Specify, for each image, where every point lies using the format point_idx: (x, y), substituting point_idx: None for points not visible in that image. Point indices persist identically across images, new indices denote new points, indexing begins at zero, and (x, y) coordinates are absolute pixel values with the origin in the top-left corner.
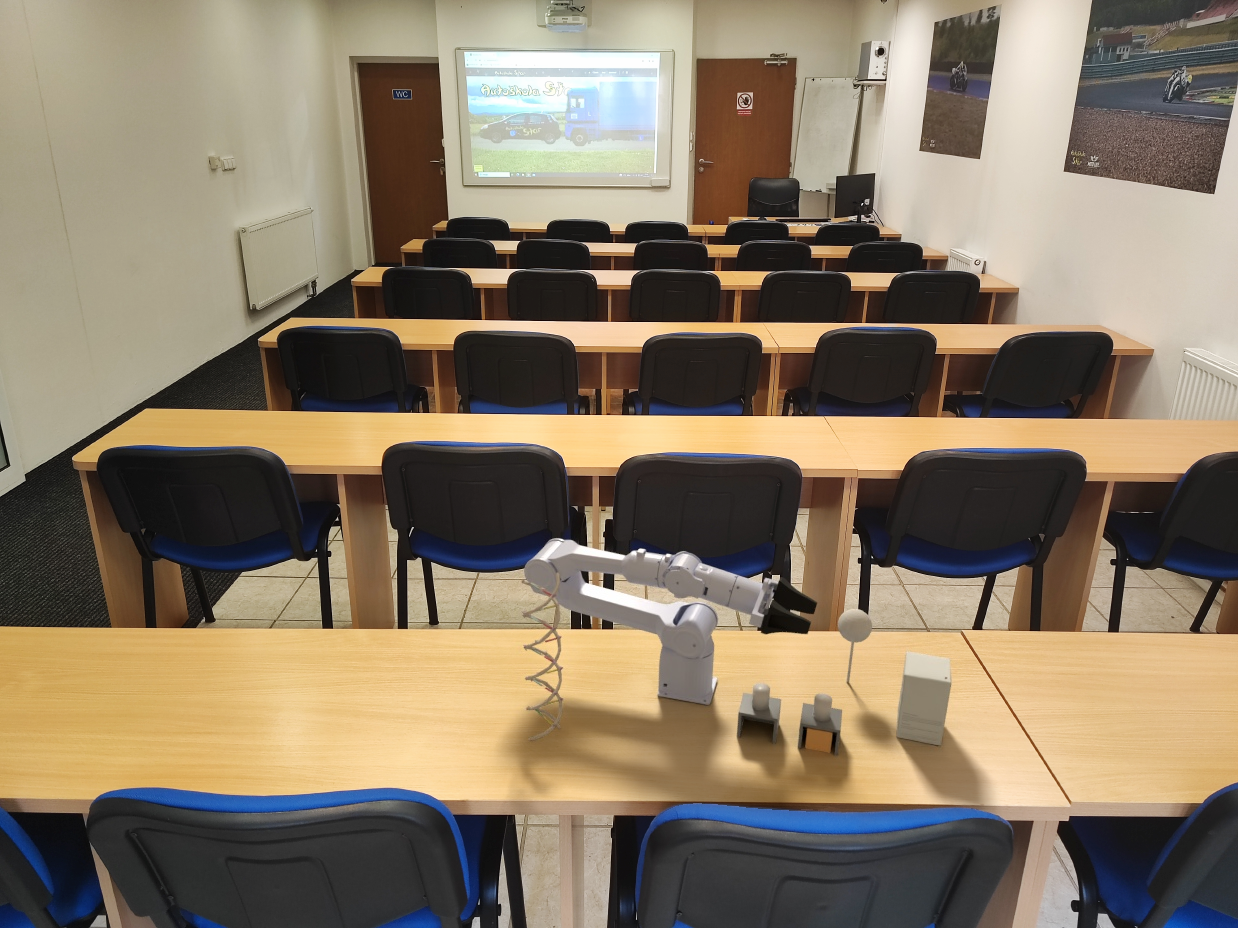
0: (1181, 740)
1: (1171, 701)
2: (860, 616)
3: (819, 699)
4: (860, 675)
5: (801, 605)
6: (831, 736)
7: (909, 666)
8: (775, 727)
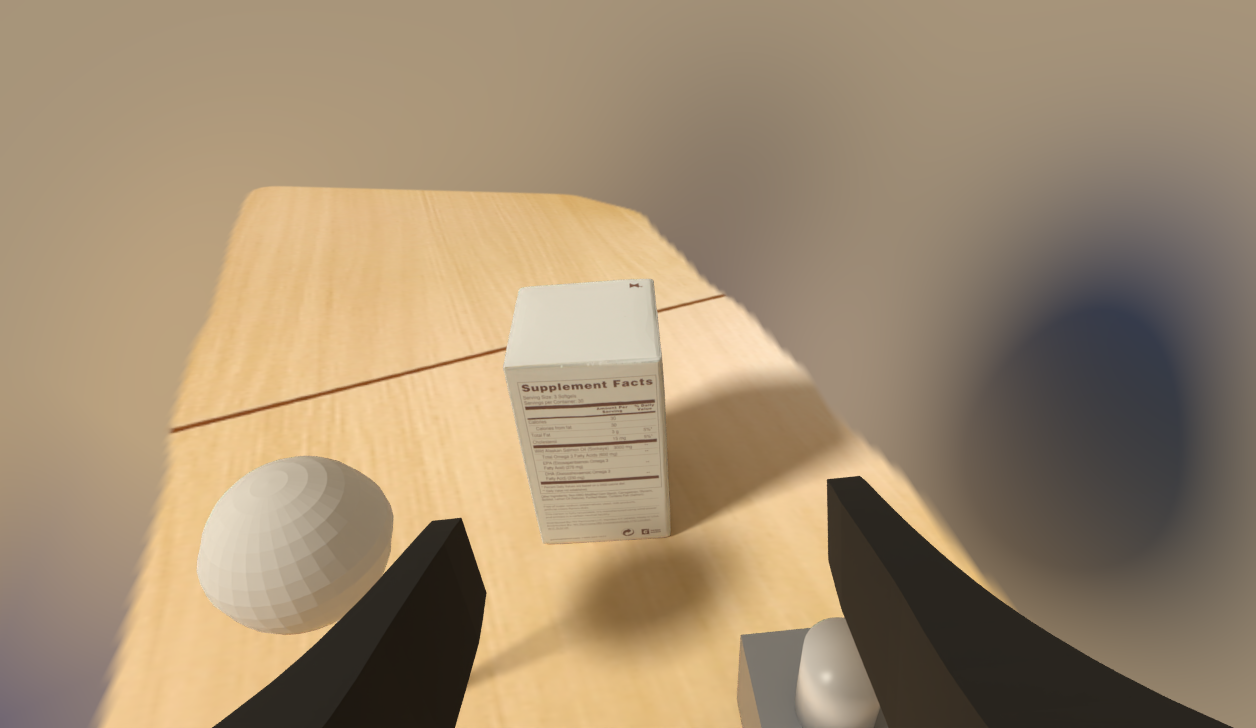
0: (506, 216)
1: (406, 220)
2: (311, 470)
3: (865, 671)
4: None
5: (438, 667)
6: None
7: (606, 351)
8: None
